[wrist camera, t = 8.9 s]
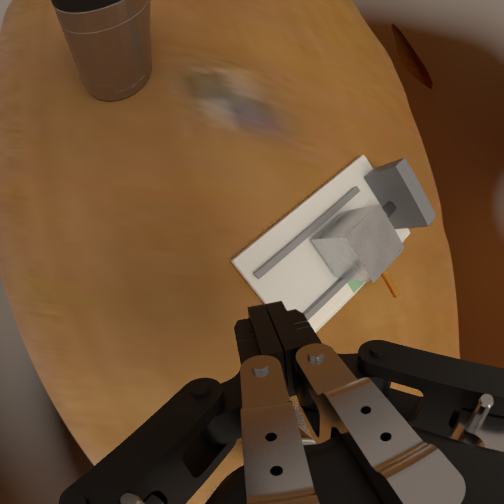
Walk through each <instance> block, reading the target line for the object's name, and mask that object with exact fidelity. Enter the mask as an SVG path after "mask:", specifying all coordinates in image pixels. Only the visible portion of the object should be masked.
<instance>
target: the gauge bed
mask: <svg viewBox="0 0 504 504" xmlns="http://www.w3.org/2000/svg"><path fill="white" fill-rule="evenodd" d="M387 201H391V202H393V203H394V204H395V206H396V211H395V212H394V213H393V214H392V215H391V216H390V217H389V220H390V222H391V224H392V225H393V227H394V229H395V231H396V232H397V234H398V236H399V238H400V240H401V242H403V241H404V240H405V239H406V238H407V236H408V235H409V234H410V231H409V229H408V228H415V227H427V226H429V225H430V224H431V222H432V221H433V220H434V218H435V217H436V214H435V212H434V210H433V208H432V206H431V204H430V202H429V200H428V198H427V196H426V194H425V193H424V191H423V189H422V187H421V185H420V183H419V181H418V180H417V178H416V176H415V174H414V173H413V171H412V169H411V167H410V166H409V164H408V162H407V161H406V159H405V158H402V159H399V160H397V161H394V162H391V163H388V164H386V165H383V166H380V167H377V168H375V169H373V168H372V166H371V165H370V163H369V162H368V160H367V159H366V157H365V156H364V155H361V156H359V157H358V158H357V159H355V160H354V161H353V162H352V163H350V164H349V165H348V166H347V167H345V168H344V169H343V170H342V171H340V172H339V173H338V174H337V175H335V176H334V177H333V178H332V179H330V180H329V181H328V182H327V183H325V184H324V185H323V186H322V187H321V188H319V189H318V190H317V191H316V192H314V193H313V194H312V195H311V196H309V197H308V198H307V199H306V200H304V201H303V202H302V203H301V204H299V205H298V206H297V207H296V208H294V209H293V210H292V211H291V212H290V213H288V214H287V215H286V216H285V217H283V218H282V219H281V220H280V221H278V222H277V223H276V224H275V225H273V226H272V227H271V228H270V229H269V230H267V231H266V232H265V233H264V234H262V235H261V236H260V237H259V238H257V239H256V240H255V241H254V242H253V243H251V244H250V245H249V246H248V247H246V248H245V249H244V250H243V251H241V252H240V253H239V254H238V255H237V256H235V257H234V258H233V259H232V260H230V261H231V262H232V264H233V265H234V266H235V268H236V269H237V270H238V271H239V273H240V274H241V275H242V276H243V278H244V279H245V280H246V281H247V283H248V284H249V285H250V287H251V288H252V289H253V290H254V292H255V293H256V294H257V295H258V297H259V298H260V299H261V300H262V302H263V303H264V304H267V303H273V302H278V301H282V302H283V304H284V306H285V308H286V310H287V311H289V310H294V309H296V310H298V311H300V312H301V313H303V314H304V315H305V317H306V318H307V320H308V322H309V323H310V325H311V327H312V328H313V330H314V331H315V333H316V332H317V331H318V330H319V329H320V328H321V327H322V326H323V325H324V324H325V323H326V322H327V321H328V320H329V319H330V318H331V317H332V316H333V315H334V314H336V313H337V312H338V311H339V310H340V309H341V308H342V307H343V306H344V305H345V304H346V303H347V302H348V301H349V300H350V299H351V298H352V296H353V295H354V294H355V293H356V292H357V291H358V290H359V289H360V288H361V287H362V286H363V285H364V284H365V283H366V282H365V281H358V280H351V279H345V278H338V277H335V275H334V274H333V272H332V271H331V269H330V268H329V266H328V265H327V264H326V262H325V261H324V259H323V258H322V256H321V255H320V253H319V252H318V250H317V249H316V248H315V246H314V245H313V243H312V242H311V240H310V239H312V238H313V237H314V236H315V235H316V234H317V233H318V232H320V231H321V230H322V229H323V228H324V227H325V226H326V225H327V224H329V223H330V222H331V221H332V220H333V219H334V218H335V217H336V216H338V215H339V214H340V213H341V212H343V211H348V210H352V209H357V208H362V207H367V206H371V205H376V204H380V205H381V206H382V207H383V205H384V204H385V203H386V202H387Z"/></svg>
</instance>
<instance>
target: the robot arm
mask: <svg viewBox="0 0 504 504" xmlns="http://www.w3.org/2000/svg"><path fill="white" fill-rule="evenodd" d="M51 1H52V4H53V6H54V9H55V11H56V14H57V17H58V20H59V22H60V25H61V27H62V30H63V32H64V35H65V38H66V40H67V43H68V45H69V48H70V50H71V53H72V55H73V58H74V60H75V62H76V65H77V67H78V69H79V72H80V74H81V77H82V79H83V81H84V84H85V86H86V88H87V90H88V91H89V93H90V94H91V95H92V96H93V97H95V98H97V99H99V100H104V101H116V100H121V99H124V98H127V97H129V96H131V95H133V94H135V93H136V92H137V91H139V90H140V89H141V88H142V87H143V86H144V85H145V83H146V82H147V80H148V79H149V76H150V74H151V38H150V0H51ZM248 315H249V319H243V320H238V321H237V323H236V325H235V327H234V330H235V335H236V340H237V346H238V351H239V356H240V361H241V367H240V371H239V373H238V374H237V375H236V376H235V377H234V378H232V379H230V380H228V381H226V382H224V383H221V384H220V383H219V382H218V381H216V380H214V379H211V378H199V379H195V380H193V381H191V382H189V383H187V384H186V385H185V386H184V387H183V388H182V389H181V390H180V391H179V392H177V393H176V394H175V395H174V396H173V397H172V398H171V399H170V400H169V401H168V402H167V403H166V404H165V405H163V406H162V407H161V408H160V409H159V410H158V411H157V412H156V413H155V414H154V415H153V416H151V417H150V418H149V419H148V420H147V421H146V422H145V423H144V424H143V425H141V426H140V427H139V428H138V429H137V430H136V431H135V432H134V433H132V434H131V435H130V436H129V437H128V438H127V439H126V440H124V441H123V442H122V443H121V444H120V445H119V446H117V447H116V448H115V449H114V450H113V451H112V452H111V453H109V454H108V455H107V456H106V457H105V458H103V459H102V460H101V461H100V462H99V463H97V464H96V465H95V466H94V467H93V468H92V469H91V470H89V471H88V472H87V473H85V474H84V475H83V476H82V477H81V478H79V479H78V480H77V481H76V482H74V483H73V484H72V485H71V486H69V487H68V488H67V489H66V490H65V491H64V492H63V493H62V495H61V496H60V500H59V504H186V503H187V501H188V500H189V499H190V498H191V497H192V496H193V495H194V494H195V493H196V491H197V490H198V489H199V488H200V487H201V486H202V485H203V483H204V482H205V481H206V480H207V479H208V478H209V476H210V475H211V474H212V473H213V472H214V470H215V469H216V468H217V467H218V466H219V464H220V463H221V462H222V461H223V459H224V458H225V457H226V456H227V454H228V453H229V452H230V451H231V449H232V448H233V447H234V445H235V444H236V441H237V439H238V438H240V437H242V443H243V457H244V465H243V466H241V467H240V468H238V469H236V470H235V471H233V472H232V473H231V474H230V475H228V476H227V477H226V478H225V479H224V480H223V481H222V482H221V484H220V485H219V486H218V487H217V489H216V490H215V491H214V493H213V494H212V495H211V497H210V498H209V499H208V500H207V502H206V503H205V504H504V368H498V367H494V366H488V365H484V364H479V363H474V362H470V361H465V360H461V359H456V358H452V357H448V356H443V355H439V354H435V353H431V352H427V351H423V350H419V349H415V348H411V347H407V346H403V345H399V344H395V343H391V342H387V341H383V340H372V341H368V342H366V343H364V344H362V345H361V346H360V348H359V350H358V353H356V354H337V353H336V352H335V351H334V350H333V349H332V348H331V347H330V346H328V345H325V344H322V343H321V341H320V339H319V338H318V336H317V335H316V333H315V331H314V330H313V328H312V327H311V325H310V323H309V322H308V320H307V318H306V317H305V315H304V314H303V313H301V312H300V311H298V310H296V309H294V310H289V311H287V310H286V308H285V306H284V304H283V302H282V301H278V302H273V303H267V304H265V305H264V304H263V305H257V306H252V307H248ZM391 382H394V383H398V384H401V385H404V386H408V387H411V388H415V389H418V390H420V391H421V392H422V393H423V395H424V396H423V397H419V396H416V395H412V394H409V393H405V392H402V391H399V390H395V389H392V388H390V385H391ZM288 395H289V396H288ZM295 395H296V396H297V398H298V403H299V411H300V413H301V415H302V417H303V419H304V421H305V423H306V425H307V427H308V429H309V431H310V433H311V435H312V436H313V438H314V440H315V442H316V444H311V445H303V443H302V439H301V435H300V431H299V427H298V423H297V419H296V415H295V411H294V407H293V404H292V401H290V400H289V397H291V396H295Z"/></svg>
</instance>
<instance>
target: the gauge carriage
mask: <svg viewBox="0 0 504 504" xmlns="http://www.w3.org/2000/svg"><path fill="white" fill-rule="evenodd" d="M395 211H396V206H395V204H394V203H393V202H391V201H387V202H386V203H385V204H384V205H383V207H382V206H381V205H380V204H376V205H371V206H367V207H362V208H357V209H352V210H348V211H343V212H341V213H340V214H339V215H338V216H336V217H335V218H334V219H333V220H332V221H331V222H330V223H329V224H327V225H326V226H325V227H324V228H323V229H322V230H321V231H320V232H318V233H317V234H316V235H315V236H314V237H313V238H312V239H310V240H311V242H312V243H313V245H314V246H315V248H316V249H317V250H318V252H319V253H320V255H321V256H322V258H323V259H324V261H325V262H326V264H327V265H328V266H329V268H330V269H331V271H332V272H333V274H334V275H335V277H338V278H345V279H351V280H358V281H365V282H371V283H374V282H375V281H376V280H377V279H378V277H379V276H380V275H381V276H382V278H383V279H384V281H385V283H386V285H387V286H388V288H389V290H390V292H391V294H392V295H393V297H395V298H397V297H398V296H399V295H400V293H399V291H398V289H397V287H396V285H395V284H394V282H393V280H392V278H391V276H390V275H389V273H388V271H387V268H388V266H389V265H390V264H391V263H392V262H393V261H394V260H395V258H396V257H397V256H398V255H399V254H400V253H401V252H402V250H403V249H404V248H405V247H404V245H403V243H402V242H401V240H400V238H399V236H398V234H397V232H396V231H395V229H394V227H393V225H392V224H391V222H390V220H389V217H390V216H391V215H392V214H393V213H394V212H395Z"/></svg>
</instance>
